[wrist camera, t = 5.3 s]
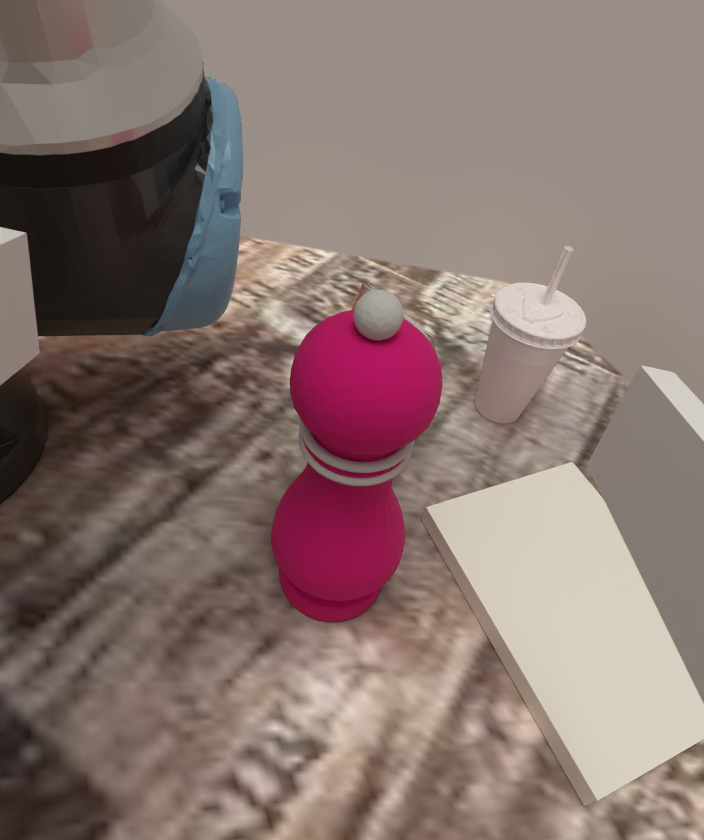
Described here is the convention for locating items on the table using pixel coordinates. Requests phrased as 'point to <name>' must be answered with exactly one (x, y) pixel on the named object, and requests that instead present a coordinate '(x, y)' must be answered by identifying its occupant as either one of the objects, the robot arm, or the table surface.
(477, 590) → the cutting board
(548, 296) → the smoothie
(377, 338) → the pepper mill
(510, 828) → the table surface
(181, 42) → the robot arm
